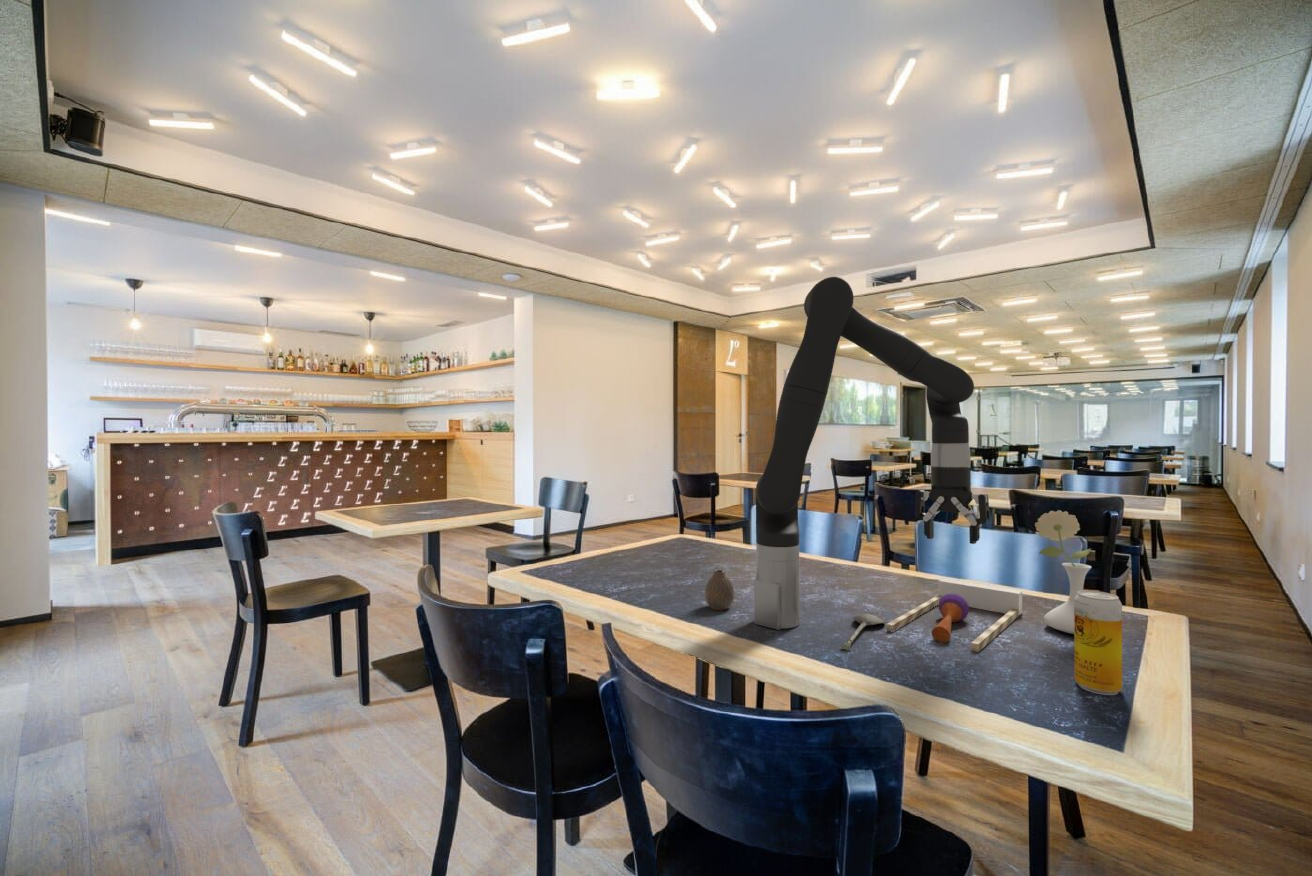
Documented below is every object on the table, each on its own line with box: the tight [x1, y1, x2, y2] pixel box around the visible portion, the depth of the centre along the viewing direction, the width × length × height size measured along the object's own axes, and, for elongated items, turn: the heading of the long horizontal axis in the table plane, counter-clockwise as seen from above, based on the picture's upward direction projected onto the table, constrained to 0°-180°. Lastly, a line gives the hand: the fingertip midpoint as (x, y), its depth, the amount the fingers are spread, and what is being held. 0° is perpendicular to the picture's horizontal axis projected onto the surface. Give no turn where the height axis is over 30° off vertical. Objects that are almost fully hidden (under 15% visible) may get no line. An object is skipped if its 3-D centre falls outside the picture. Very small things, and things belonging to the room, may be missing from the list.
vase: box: [704, 569, 735, 611], centre depth 137 cm, size 7×7×9 cm
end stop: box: [937, 578, 1023, 616], centre depth 137 cm, size 3×17×5 cm, turn 46°
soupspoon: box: [840, 613, 886, 651], centre depth 118 cm, size 22×3×7 cm
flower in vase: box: [1034, 509, 1092, 635], centre depth 120 cm, size 13×11×25 cm
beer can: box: [1073, 590, 1123, 696], centre depth 92 cm, size 6×6×15 cm
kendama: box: [931, 593, 970, 643], centre depth 122 cm, size 6×6×20 cm
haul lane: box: [886, 594, 1020, 653], centre depth 125 cm, size 31×17×2 cm, turn 136°
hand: (951, 540), depth 123 cm, fingers open, 8 cm apart
